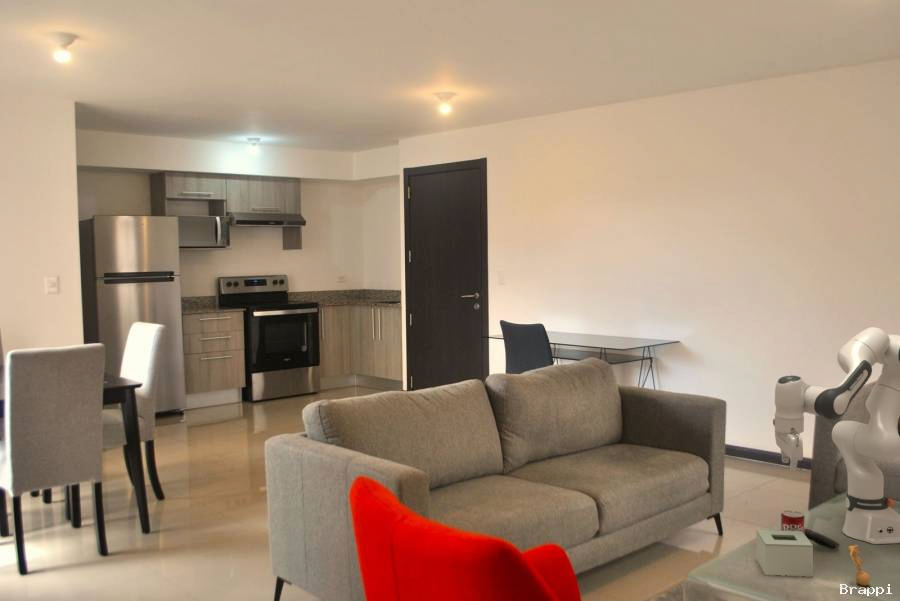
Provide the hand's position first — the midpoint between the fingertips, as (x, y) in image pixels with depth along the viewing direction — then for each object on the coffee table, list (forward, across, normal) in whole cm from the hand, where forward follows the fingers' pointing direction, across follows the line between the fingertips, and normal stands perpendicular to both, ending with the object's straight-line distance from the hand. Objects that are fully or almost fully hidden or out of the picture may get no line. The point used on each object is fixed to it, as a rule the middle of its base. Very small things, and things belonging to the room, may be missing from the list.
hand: (789, 466), depth 262 cm
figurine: (+29, -24, -14) cm, 40 cm away
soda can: (+29, +3, -2) cm, 29 cm away
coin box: (+29, -14, +5) cm, 33 cm away
